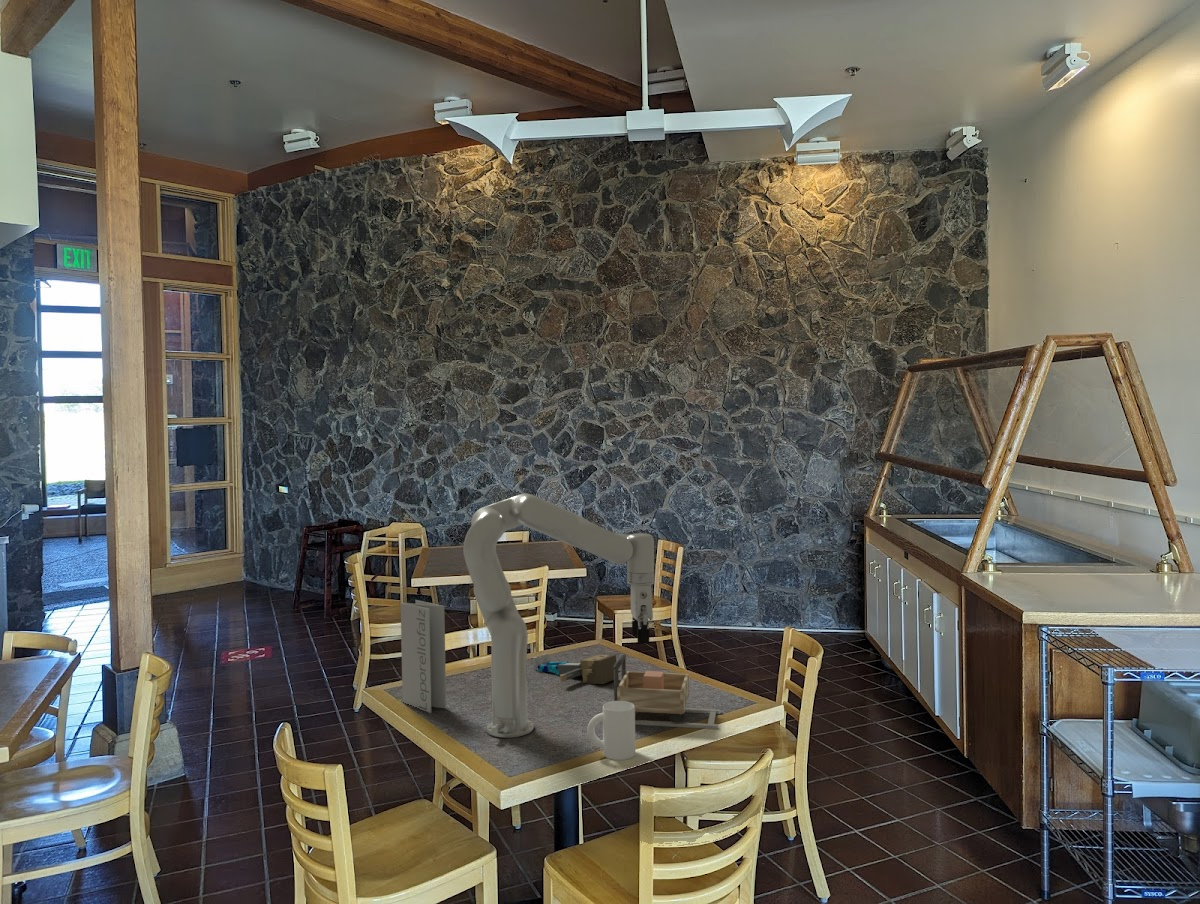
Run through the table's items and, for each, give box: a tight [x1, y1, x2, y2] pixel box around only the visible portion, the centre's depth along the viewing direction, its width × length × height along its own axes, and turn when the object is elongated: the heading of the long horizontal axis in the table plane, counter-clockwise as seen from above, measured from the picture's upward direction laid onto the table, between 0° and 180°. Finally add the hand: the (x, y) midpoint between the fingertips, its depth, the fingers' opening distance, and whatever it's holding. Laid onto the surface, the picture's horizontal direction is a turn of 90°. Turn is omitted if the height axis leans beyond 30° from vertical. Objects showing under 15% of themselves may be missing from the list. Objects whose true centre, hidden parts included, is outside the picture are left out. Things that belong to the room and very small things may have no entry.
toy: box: [532, 653, 620, 685], centre depth 270 cm, size 26×8×30 cm
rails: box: [635, 707, 721, 730], centre depth 227 cm, size 13×26×1 cm, turn 79°
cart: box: [613, 652, 690, 723], centre depth 228 cm, size 16×19×15 cm
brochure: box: [400, 599, 447, 714], centre depth 241 cm, size 14×6×30 cm, turn 47°
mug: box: [586, 700, 636, 761], centre depth 202 cm, size 8×12×12 cm
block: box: [643, 670, 665, 689], centre depth 228 cm, size 5×5×7 cm
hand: (640, 638), depth 229 cm, fingers open, 9 cm apart
